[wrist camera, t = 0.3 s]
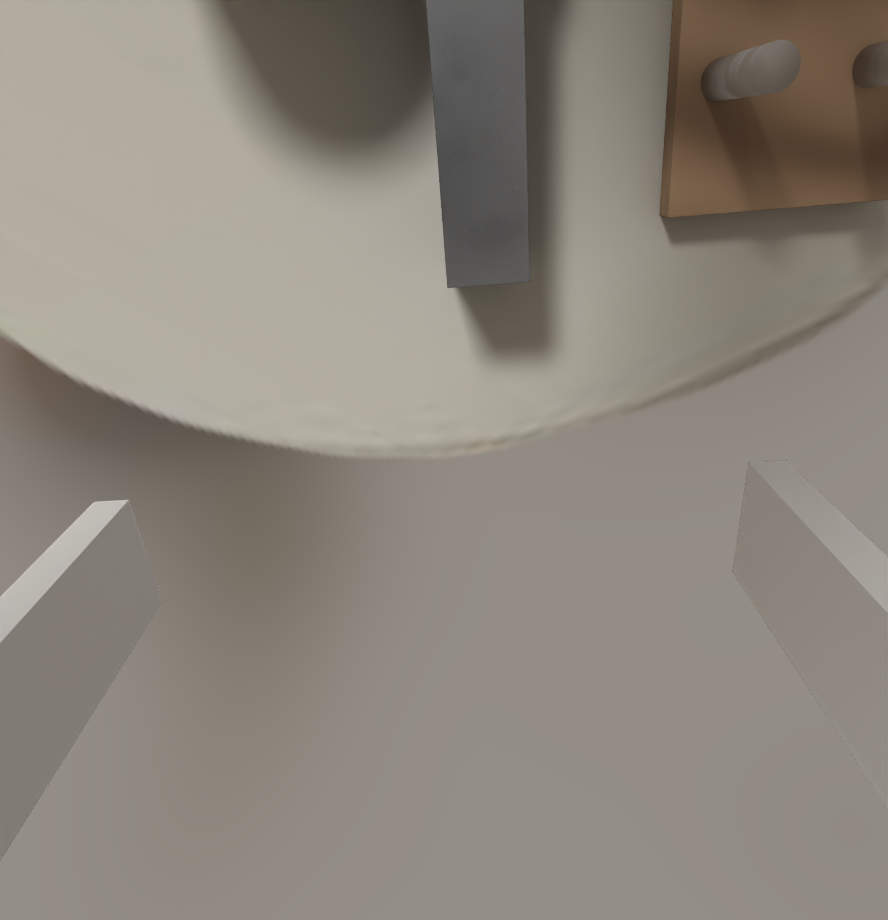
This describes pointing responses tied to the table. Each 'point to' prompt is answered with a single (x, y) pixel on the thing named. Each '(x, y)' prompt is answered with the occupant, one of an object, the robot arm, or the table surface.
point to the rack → (775, 105)
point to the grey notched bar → (481, 138)
